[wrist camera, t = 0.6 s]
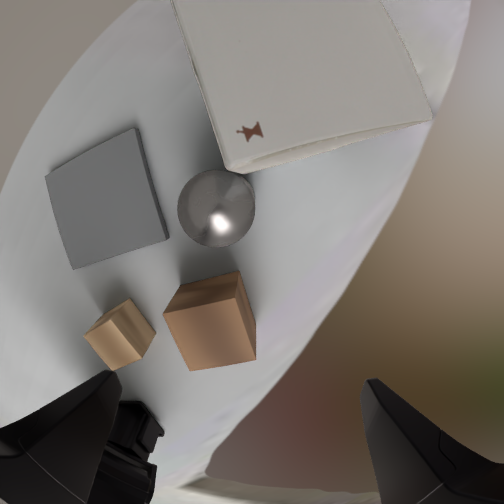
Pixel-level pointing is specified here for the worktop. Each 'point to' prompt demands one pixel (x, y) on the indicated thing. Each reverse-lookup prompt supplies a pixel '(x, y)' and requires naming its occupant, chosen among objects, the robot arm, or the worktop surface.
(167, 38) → the worktop surface
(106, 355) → the beech block
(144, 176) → the slate mat
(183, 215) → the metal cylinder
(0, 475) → the robot arm
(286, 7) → the supplement box
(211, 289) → the walnut block
